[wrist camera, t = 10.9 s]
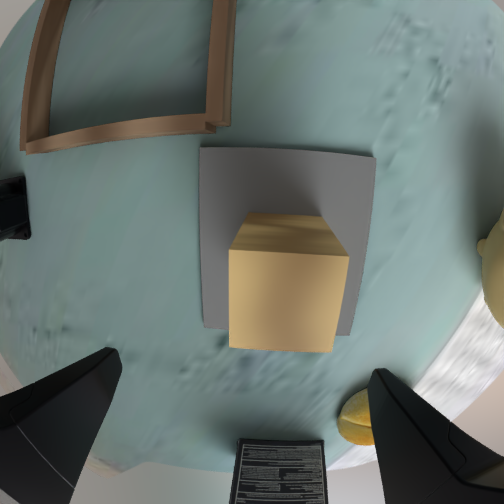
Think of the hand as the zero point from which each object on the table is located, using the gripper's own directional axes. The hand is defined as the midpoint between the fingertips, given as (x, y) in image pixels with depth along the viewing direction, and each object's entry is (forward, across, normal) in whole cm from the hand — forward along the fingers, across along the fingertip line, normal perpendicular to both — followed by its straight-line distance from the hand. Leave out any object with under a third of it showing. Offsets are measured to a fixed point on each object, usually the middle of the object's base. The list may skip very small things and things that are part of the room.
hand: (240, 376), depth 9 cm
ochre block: (+12, -2, 0) cm, 12 cm away
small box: (+13, -4, +27) cm, 30 cm away
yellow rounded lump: (+13, -13, +17) cm, 25 cm away
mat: (+13, -2, 0) cm, 13 cm away
